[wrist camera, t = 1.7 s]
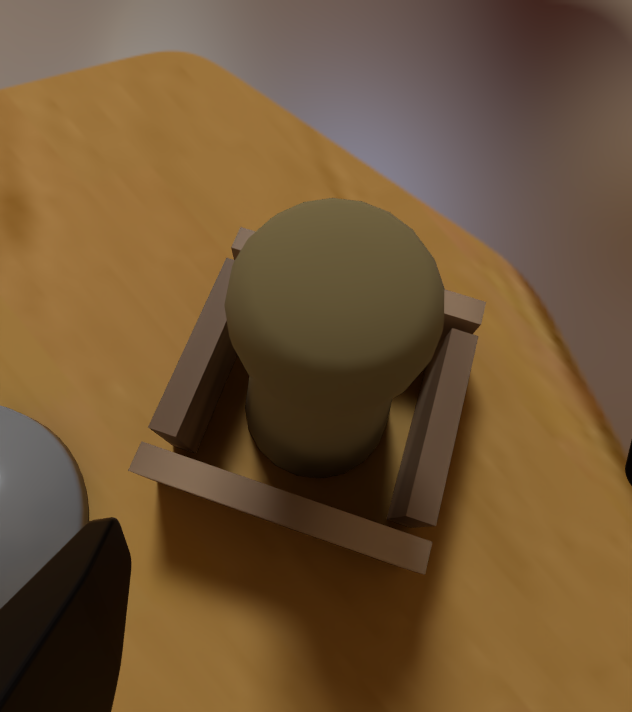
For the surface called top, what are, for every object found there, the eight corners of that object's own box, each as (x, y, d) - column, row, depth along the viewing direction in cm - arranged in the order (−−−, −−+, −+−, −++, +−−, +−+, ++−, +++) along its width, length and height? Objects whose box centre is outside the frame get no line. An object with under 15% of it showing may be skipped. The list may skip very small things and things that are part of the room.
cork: (395, 474, 19) (510, 405, 9) (244, 481, 19) (186, 418, 9) (380, 337, 21) (461, 153, 11) (245, 340, 21) (198, 155, 11)
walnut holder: (456, 337, 22) (485, 301, 18) (401, 567, 18) (424, 574, 15) (248, 272, 22) (240, 227, 19) (156, 481, 19) (128, 470, 16)
